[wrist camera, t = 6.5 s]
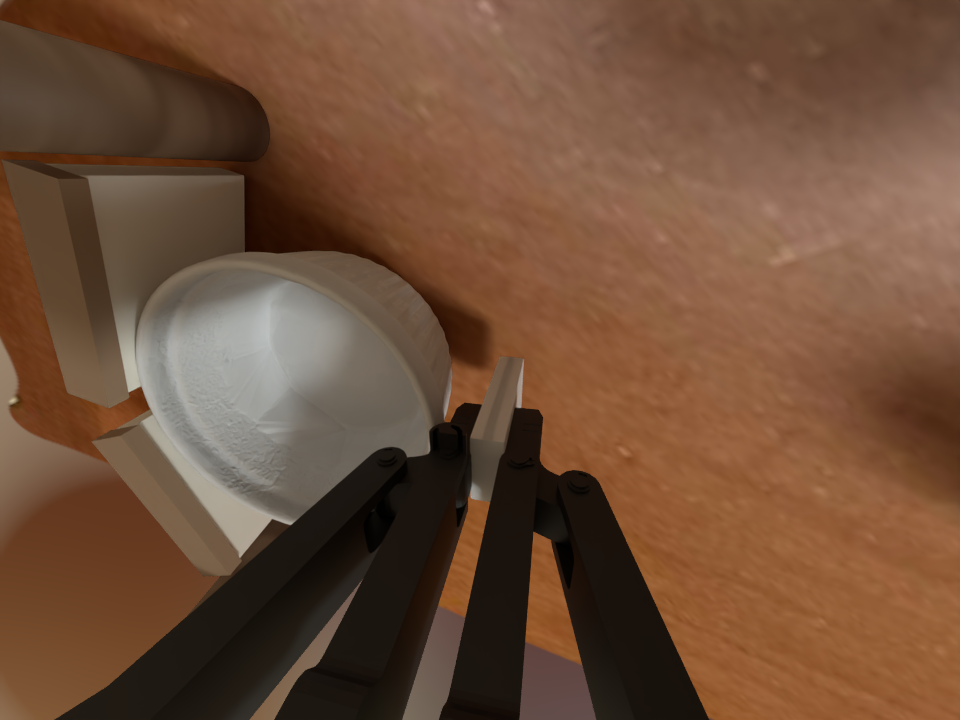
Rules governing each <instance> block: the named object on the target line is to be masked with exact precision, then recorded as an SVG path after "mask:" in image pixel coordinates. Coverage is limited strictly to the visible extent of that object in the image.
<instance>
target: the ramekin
mask: <svg viewBox="0 0 960 720" xmlns="http://www.w3.org/2000/svg"><path fill="white" fill-rule="evenodd" d="M136 364H137V370H138V375H139V379H140V383H141V387H142V390H143V392H144V395H145V398H146V400H147V403H148V405H149V407H150V409H151V411H152V413H153V415H154V417H155V419H156V421H157V423H158V424H159V426H160V428H161V429H162V431H163V432H164V434H165V435H166V437H167V438H168V439H169V441H170V442H171V443H172V445H173V446H174V447H175V449H176V450H177V451H178V452H179V453H180V454H181V456H182V457H183V458H184V459H185V460H186V461H187V462H188V463H189V464H190V465H191V466H192V467H193V468H194V469H195V470H196V471H197V472H198V473H199V474H200V475H201V476H202V477H204V478H205V479H206V480H207V481H208V482H209V483H211V484H212V485H213V486H215V487H216V488H217V489H219V490H220V491H222V492H223V493H224V494H226V495H227V496H229V497H230V498H232V499H233V500H235V501H237V502H238V503H240V504H242V505H244V506H245V507H247V508H249V509H251V510H253V511H255V512H257V513H259V514H262V515H264V516H266V517H269V518H271V519H274V520H277V521H280V522H283V523H285V524H289V525H292V524H293V523H294V522H295V521H296V520H297V519H298V518H300V517H301V516H302V515H303V514H304V513H305V512H306V511H307V510H309V509H310V508H311V507H312V506H313V505H314V504H315V503H317V502H318V501H319V500H320V499H321V498H322V497H323V496H325V495H326V494H327V493H328V492H329V491H330V490H331V489H332V488H334V487H335V486H336V485H337V484H338V483H339V482H340V481H342V480H343V479H344V478H345V477H346V476H347V475H348V474H350V473H351V472H352V471H353V470H354V469H355V468H356V467H357V466H359V465H360V464H361V463H362V462H363V461H364V460H365V459H367V458H368V457H369V456H370V455H371V454H372V453H374V452H375V451H377V450H379V449H382V448H385V447H397V448H400V449H402V450H404V452H405V453H406V455H407V457H415V456H422V455H426V454H429V452H430V439H429V430H430V429H431V428H432V427H433V426H435V425H437V424H440V423H445V422H444V419H445V416H446V412H447V408H448V403H449V399H450V394H451V381H452V369H451V364H452V361H451V357H450V354H449V345H448V343H447V341H446V339H445V333H444V331H443V329H442V327H441V326H440V324H439V321H438V318H437V317H436V316H435V315H434V313H433V312H432V310H431V307H430V306H429V305H428V304H427V303H426V302H425V301H424V299H423V298H422V297H421V295H420V294H419V293H418V292H417V291H415V290H414V288H413V287H412V286H411V285H410V284H409V283H407V282H406V281H404V280H403V279H402V278H401V277H400V276H399V275H397V274H396V273H394V272H391V271H390V270H388V269H387V268H386V267H384V266H382V265H378V264H376V263H374V262H373V261H371V260H369V259H366V258H361V257H359V256H356V255H354V254H344V253H341V252H337V251H303V252H292V253H281V254H275V253H267V252H242V253H233V254H227V255H223V256H219V257H216V258H212V259H209V260H206V261H202V262H199V263H196V264H194V265H191V266H188V267H186V268H184V269H182V270H180V271H178V272H176V273H175V274H173V275H172V276H170V277H169V278H168V279H166V280H165V281H164V282H163V283H162V284H161V285H160V286H159V287H158V288H157V289H156V290H155V291H154V292H153V293H152V295H151V296H150V298H149V299H148V301H147V303H146V306H145V307H144V309H143V312H142V314H141V317H140V321H139V324H138V328H137V334H136Z"/></svg>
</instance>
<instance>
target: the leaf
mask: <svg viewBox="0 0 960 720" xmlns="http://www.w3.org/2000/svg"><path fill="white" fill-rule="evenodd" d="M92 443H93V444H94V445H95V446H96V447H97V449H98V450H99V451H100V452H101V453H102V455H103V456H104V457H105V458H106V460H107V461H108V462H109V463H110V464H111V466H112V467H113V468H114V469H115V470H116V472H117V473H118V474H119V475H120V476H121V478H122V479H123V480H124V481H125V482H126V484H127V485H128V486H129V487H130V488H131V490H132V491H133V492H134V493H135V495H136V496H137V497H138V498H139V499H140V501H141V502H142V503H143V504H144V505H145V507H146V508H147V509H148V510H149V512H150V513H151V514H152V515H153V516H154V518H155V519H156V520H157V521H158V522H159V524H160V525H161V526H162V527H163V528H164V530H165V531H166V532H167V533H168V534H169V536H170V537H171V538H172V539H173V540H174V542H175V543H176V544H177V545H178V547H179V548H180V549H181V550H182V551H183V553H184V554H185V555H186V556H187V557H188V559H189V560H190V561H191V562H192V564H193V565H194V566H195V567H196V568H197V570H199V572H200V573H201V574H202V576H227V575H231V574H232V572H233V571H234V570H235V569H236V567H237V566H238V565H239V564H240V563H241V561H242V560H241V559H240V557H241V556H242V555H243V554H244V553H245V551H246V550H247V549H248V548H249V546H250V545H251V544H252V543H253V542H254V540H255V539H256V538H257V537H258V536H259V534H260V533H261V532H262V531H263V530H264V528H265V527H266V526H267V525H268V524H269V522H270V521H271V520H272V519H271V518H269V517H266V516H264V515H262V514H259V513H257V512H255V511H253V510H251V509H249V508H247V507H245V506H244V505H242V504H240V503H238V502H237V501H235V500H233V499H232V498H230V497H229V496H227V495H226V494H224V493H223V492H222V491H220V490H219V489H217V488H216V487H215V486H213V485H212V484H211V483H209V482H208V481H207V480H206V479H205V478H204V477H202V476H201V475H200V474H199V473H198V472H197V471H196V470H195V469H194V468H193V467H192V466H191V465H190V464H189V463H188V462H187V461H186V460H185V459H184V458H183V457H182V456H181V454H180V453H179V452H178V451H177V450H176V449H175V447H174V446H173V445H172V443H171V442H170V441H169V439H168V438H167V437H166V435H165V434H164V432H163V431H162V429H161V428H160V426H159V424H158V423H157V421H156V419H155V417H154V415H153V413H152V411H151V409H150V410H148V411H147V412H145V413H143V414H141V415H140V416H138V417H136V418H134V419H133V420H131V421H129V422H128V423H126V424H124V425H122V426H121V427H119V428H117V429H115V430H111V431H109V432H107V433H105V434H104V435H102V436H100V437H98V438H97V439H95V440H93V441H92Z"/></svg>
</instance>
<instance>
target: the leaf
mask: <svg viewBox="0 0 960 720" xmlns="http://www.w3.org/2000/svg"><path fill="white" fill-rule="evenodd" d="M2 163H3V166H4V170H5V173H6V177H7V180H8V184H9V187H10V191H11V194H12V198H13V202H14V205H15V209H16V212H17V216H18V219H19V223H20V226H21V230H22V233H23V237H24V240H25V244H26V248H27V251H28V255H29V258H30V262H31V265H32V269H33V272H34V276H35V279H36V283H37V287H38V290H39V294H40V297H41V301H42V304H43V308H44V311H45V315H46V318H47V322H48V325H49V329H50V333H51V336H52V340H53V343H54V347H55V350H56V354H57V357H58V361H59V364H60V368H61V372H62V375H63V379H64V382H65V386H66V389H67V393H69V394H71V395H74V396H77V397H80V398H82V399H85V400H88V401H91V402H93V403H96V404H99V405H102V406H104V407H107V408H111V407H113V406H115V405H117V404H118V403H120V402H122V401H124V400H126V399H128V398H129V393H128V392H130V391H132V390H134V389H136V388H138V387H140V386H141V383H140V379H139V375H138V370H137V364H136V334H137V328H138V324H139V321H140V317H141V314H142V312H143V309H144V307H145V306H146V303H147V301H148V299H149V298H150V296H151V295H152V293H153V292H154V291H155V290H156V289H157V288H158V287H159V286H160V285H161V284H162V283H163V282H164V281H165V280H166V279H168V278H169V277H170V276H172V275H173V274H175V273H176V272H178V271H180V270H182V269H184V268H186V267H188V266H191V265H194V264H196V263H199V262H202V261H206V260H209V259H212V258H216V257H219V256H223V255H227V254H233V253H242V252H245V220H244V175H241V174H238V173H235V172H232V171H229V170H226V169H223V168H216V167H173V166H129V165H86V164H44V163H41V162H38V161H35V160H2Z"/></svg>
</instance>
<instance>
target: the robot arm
mask: <svg viewBox="0 0 960 720" xmlns="http://www.w3.org/2000/svg"><path fill="white" fill-rule="evenodd" d="M523 363H524V358H514V357H502V356H500V358H499V361H498V363H497V366H496V369H495V371H494V374H493V377H492V380H491V382H490V385H489V388H488V390H487V393H486V396H485V398H484V401H483V404H482V405H480V404H471V403H464V404H462V405H461V406H460V407H458V408H457V409H456V411H455V413H454V416H453V418H452V420H451V422H445V423H440V424H437V425H435V426H433V427H432V428H431V429H430V430H429V439H430V452H429V454H426V455H422V456H415V457H407V455H406V453H405V452H404V450H402V449H400V448H397V447H385V448H382V449H379V450H377V451H375V452H374V453H372V454H371V455H370V456H369V457H368V458H367V459H365V460H364V461H363V462H362V463H361V464H360V465H359V466H357V467H356V468H355V469H354V470H353V471H352V472H351V473H350V474H348V475H347V476H346V477H345V478H344V479H343V480H342V481H340V482H339V483H338V484H337V485H336V486H335V487H334V488H332V489H331V490H330V491H329V492H328V493H327V494H326V495H325V496H323V497H322V498H321V499H320V500H319V501H318V502H317V503H315V504H314V505H313V506H312V507H311V508H310V509H309V510H307V511H306V512H305V513H304V514H303V515H302V516H301V517H300V518H298V519H297V520H296V521H295V522H294V523H293V524H292V525H290V526H289V527H288V528H287V529H286V530H285V531H284V532H282V533H281V534H280V535H279V536H278V537H277V538H276V539H274V540H273V541H272V542H271V543H270V544H269V545H268V546H267V547H265V548H264V549H263V550H262V551H261V552H260V553H259V554H257V555H256V556H255V557H254V558H253V559H252V560H251V561H249V562H248V563H247V564H246V565H245V566H244V567H243V568H242V569H240V570H239V571H238V572H237V573H236V574H235V575H234V576H232V577H231V578H230V579H229V580H228V581H227V582H226V583H224V584H223V585H222V586H221V587H220V588H219V589H218V590H217V591H215V592H214V593H213V594H212V595H211V596H210V597H209V598H207V599H206V600H205V601H204V602H203V603H202V604H201V605H199V606H198V607H197V608H196V609H195V610H194V611H193V612H192V613H190V614H189V615H188V616H187V617H186V618H185V619H184V620H182V621H181V622H180V623H179V624H178V625H177V626H176V627H175V628H173V629H172V630H171V631H170V632H169V633H168V634H166V636H164V637H163V638H162V639H161V640H160V641H159V642H157V643H156V644H155V645H154V646H153V647H152V648H151V649H150V650H148V651H147V652H146V653H145V654H144V655H143V656H141V657H140V658H139V659H138V660H137V661H136V662H135V663H134V664H133V665H131V666H130V667H129V668H128V669H127V670H126V671H124V672H123V673H122V674H121V675H120V676H119V677H118V678H117V679H115V680H114V681H113V682H112V683H111V684H110V685H109V686H107V687H106V688H104V689H103V690H101V691H99V692H98V693H96V694H95V695H93V696H91V697H90V698H88V699H87V700H85V701H84V702H82V703H80V704H79V705H77V706H76V707H74V708H72V709H71V710H69V711H68V712H66V713H65V714H63V715H61V716H60V717H58V718H56V719H55V720H249V719H250V718H251V717H252V716H253V714H254V713H255V712H256V711H257V709H258V708H259V707H260V706H261V705H262V703H263V702H264V701H265V700H266V698H267V697H268V696H269V695H270V693H271V692H272V691H273V690H274V688H275V687H276V686H277V685H278V683H279V682H280V681H281V680H282V678H283V677H284V676H285V675H286V674H287V672H288V671H289V670H290V668H291V667H292V666H293V665H294V664H295V662H296V661H297V660H298V659H299V657H300V656H301V655H302V654H303V652H304V651H305V650H306V649H307V647H308V646H309V645H310V644H311V642H312V641H313V640H314V639H315V638H316V636H317V635H318V634H319V632H320V631H321V630H322V629H323V627H324V626H325V625H326V624H327V623H328V621H329V620H330V619H331V618H332V616H333V615H334V614H335V613H336V611H337V610H338V609H339V608H340V606H341V605H342V604H343V603H344V602H345V600H346V599H347V598H348V597H349V595H350V594H351V593H352V592H353V590H354V589H355V588H356V587H357V585H358V584H359V583H360V582H361V580H362V579H363V580H362V582H361V584H360V586H359V588H358V590H357V592H356V594H355V596H354V598H353V600H352V601H351V603H350V605H349V607H348V609H347V611H346V613H345V615H344V617H343V619H342V621H341V623H340V624H339V626H338V629H337V630H336V632H335V634H334V636H333V638H332V640H331V642H330V644H329V646H328V648H327V649H326V652H325V654H324V655H323V657H322V659H321V660H320V662H319V663H318V664H317V665H316V666H315V667H313V668H310V669H307V670H305V671H304V672H303V674H302V675H301V676H300V677H299V678H298V679H297V681H296V682H295V684H294V685H293V687H292V689H291V690H290V692H289V694H288V696H287V697H286V699H285V701H284V703H283V705H282V707H281V709H280V710H279V712H278V714H277V716H276V718H275V719H274V720H402V718H403V715H404V712H405V709H406V706H407V702H408V699H409V696H410V693H411V690H412V686H413V683H414V680H415V677H416V674H417V670H418V667H419V664H420V661H421V658H422V654H423V651H424V648H425V645H426V642H427V639H428V635H429V632H430V629H431V626H432V623H433V619H434V616H435V613H436V610H437V607H438V604H439V600H440V597H441V594H442V591H443V588H444V584H445V581H446V578H447V575H448V572H449V569H450V565H451V562H452V559H453V556H454V553H455V549H456V546H457V543H458V540H459V537H460V533H461V530H462V527H463V524H464V521H465V518H466V514H467V511H468V497H469V493H470V490H471V499H476V500H482V501H488V502H490V506H489V511H488V515H487V520H486V525H485V529H484V534H483V539H482V543H481V548H480V553H479V557H478V562H477V567H476V571H475V576H474V581H473V585H472V590H471V595H470V599H469V604H468V609H467V613H466V618H465V623H464V628H463V632H462V637H461V641H460V646H459V651H458V655H457V660H456V665H455V669H454V675H453V679H452V684H451V688H450V692H449V696H448V699H447V702H446V703H445V705H444V706H443V709H442V712H441V715H440V718H439V720H519V716H520V702H521V688H522V676H523V662H524V649H525V636H526V622H527V609H528V596H529V582H530V569H531V556H532V542H533V531H534V532H536V533H538V534H540V535H542V536H544V537H546V538H548V539H550V540H551V543H552V548H553V552H554V556H555V560H556V564H557V567H558V571H559V575H560V579H561V583H562V587H563V591H564V595H565V599H566V603H567V607H568V610H569V614H570V618H571V622H572V626H573V630H574V634H575V638H576V642H577V646H578V650H579V653H580V657H581V661H582V665H583V669H584V673H585V677H586V681H587V684H588V688H589V692H590V696H591V700H592V704H593V708H594V712H595V716H596V720H709V718H708V716H707V714H706V712H705V710H704V708H703V705H702V703H701V701H700V699H699V697H698V695H697V692H696V690H695V688H694V686H693V684H692V682H691V680H690V677H689V675H688V673H687V671H686V669H685V667H684V664H683V662H682V660H681V658H680V656H679V654H678V652H677V649H676V647H675V645H674V643H673V641H672V639H671V636H670V634H669V632H668V630H667V628H666V626H665V624H664V621H663V619H662V617H661V615H660V613H659V611H658V608H657V606H656V604H655V602H654V600H653V598H652V595H651V593H650V591H649V589H648V587H647V585H646V583H645V580H644V578H643V576H642V574H641V572H640V570H639V567H638V565H637V563H636V561H635V559H634V557H633V555H632V552H631V550H630V548H629V546H628V544H627V542H626V539H625V537H624V535H623V533H622V531H621V529H620V526H619V524H618V522H617V520H616V518H615V516H614V514H613V511H612V509H611V507H610V505H609V503H608V501H607V498H606V496H605V494H604V492H603V490H602V488H601V486H600V484H599V482H598V481H597V480H596V478H594V477H593V476H592V475H590V474H588V473H586V472H583V471H576V470H572V471H566V472H565V473H563V474H561V475H560V476H559V475H556V474H554V473H552V472H550V471H548V470H547V469H546V468H544V466H543V465H542V464H541V462H540V448H541V436H542V424H543V417H542V415H541V413H540V411H539V410H535V409H526V408H521V401H522V382H523Z"/></svg>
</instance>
